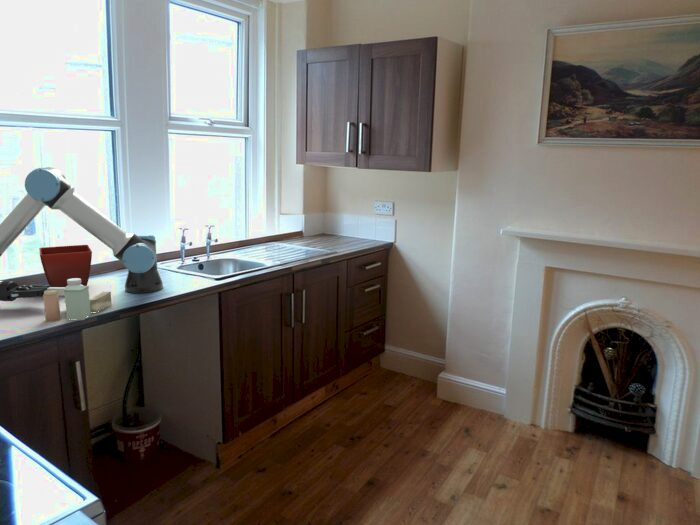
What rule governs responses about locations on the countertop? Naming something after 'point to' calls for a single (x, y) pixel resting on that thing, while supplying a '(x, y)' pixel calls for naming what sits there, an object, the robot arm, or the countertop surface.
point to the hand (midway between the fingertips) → (65, 291)
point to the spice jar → (51, 305)
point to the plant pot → (66, 264)
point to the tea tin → (77, 302)
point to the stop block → (100, 301)
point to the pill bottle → (73, 282)
